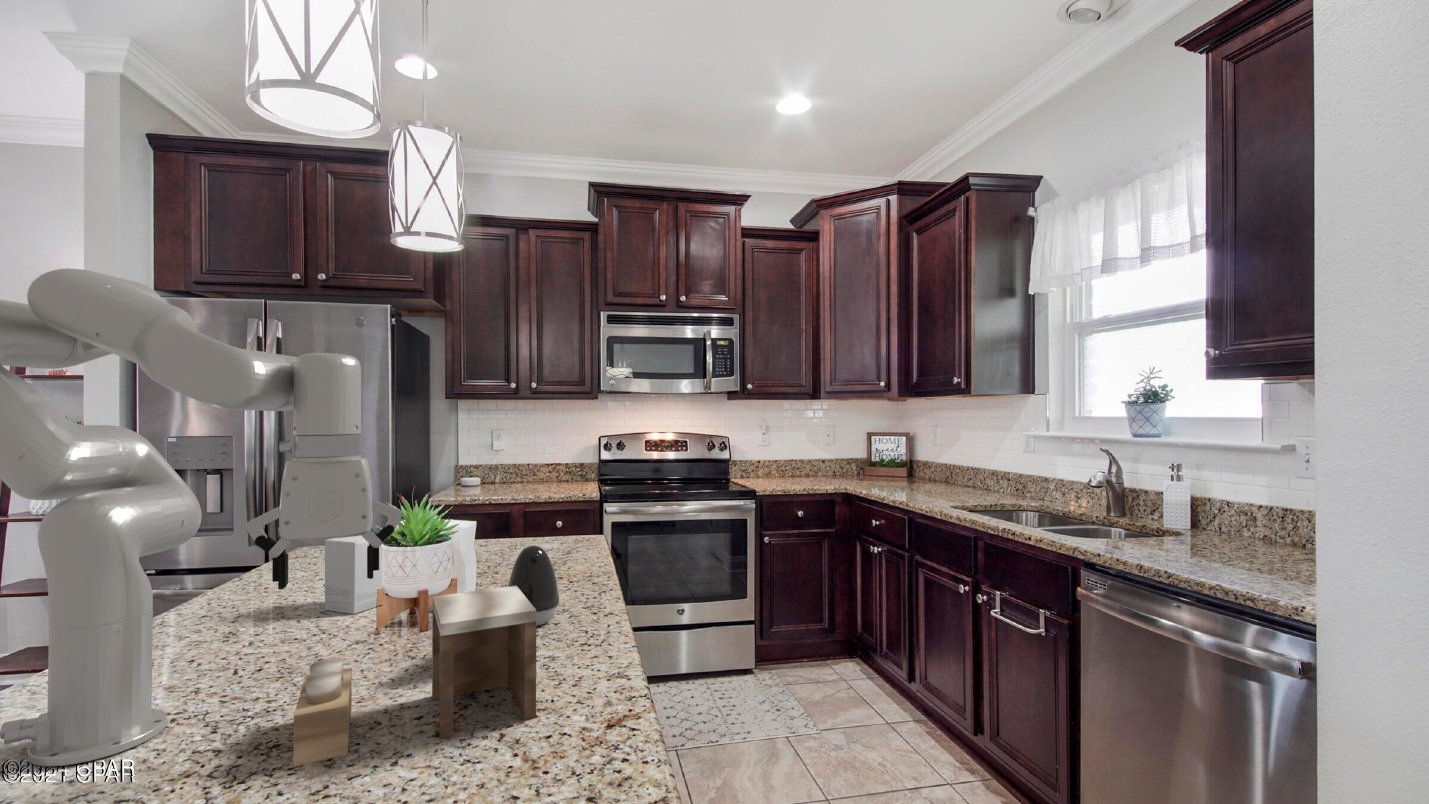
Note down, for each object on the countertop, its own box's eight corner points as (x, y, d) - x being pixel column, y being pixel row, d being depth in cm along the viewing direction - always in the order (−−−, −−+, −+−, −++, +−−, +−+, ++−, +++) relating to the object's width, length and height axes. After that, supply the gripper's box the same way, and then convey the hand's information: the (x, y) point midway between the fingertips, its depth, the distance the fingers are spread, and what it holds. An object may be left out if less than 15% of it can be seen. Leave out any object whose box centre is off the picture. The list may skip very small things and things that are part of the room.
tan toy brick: (347, 755, 77) (347, 684, 77) (293, 767, 74) (294, 694, 74) (351, 711, 88) (351, 650, 88) (304, 720, 86) (305, 657, 86)
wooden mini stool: (440, 739, 80) (440, 624, 80) (432, 695, 93) (432, 596, 93) (536, 717, 86) (536, 610, 86) (516, 679, 98) (516, 585, 98)
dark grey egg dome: (508, 635, 118) (508, 553, 118) (503, 618, 128) (503, 543, 128) (563, 627, 122) (563, 548, 122) (554, 612, 132) (554, 539, 132)
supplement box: (390, 603, 138) (391, 534, 139) (354, 615, 130) (354, 542, 130) (360, 598, 142) (361, 531, 142) (322, 610, 133) (323, 539, 134)
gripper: (240, 453, 75) (239, 598, 74) (403, 447, 83) (403, 579, 82) (251, 450, 81) (251, 584, 81) (401, 445, 89) (401, 567, 89)
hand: (328, 581), depth 82 cm, fingers open, 9 cm apart
